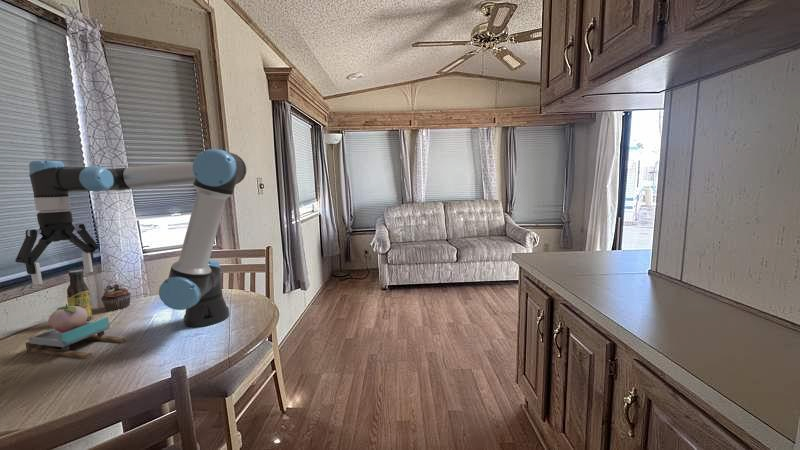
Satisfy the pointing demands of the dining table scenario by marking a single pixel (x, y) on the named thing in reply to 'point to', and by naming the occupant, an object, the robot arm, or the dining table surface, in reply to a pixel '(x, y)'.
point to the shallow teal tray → (70, 335)
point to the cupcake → (115, 297)
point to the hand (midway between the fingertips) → (64, 277)
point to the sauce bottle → (79, 292)
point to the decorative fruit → (68, 318)
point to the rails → (86, 355)
